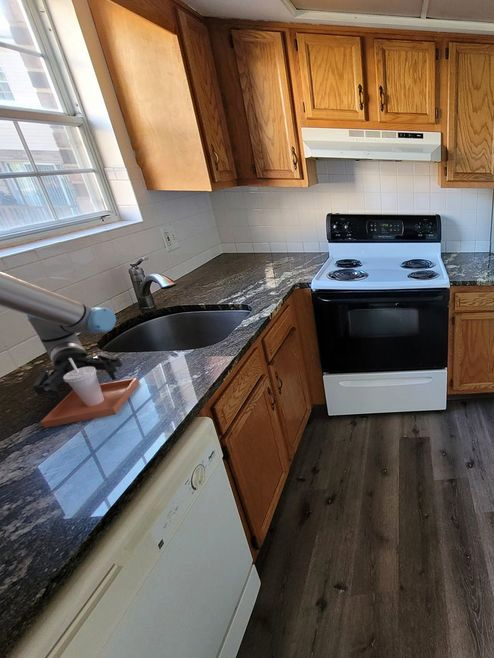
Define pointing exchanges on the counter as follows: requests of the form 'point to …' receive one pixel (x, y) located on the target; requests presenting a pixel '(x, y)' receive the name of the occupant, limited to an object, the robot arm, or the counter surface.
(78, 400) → the tray
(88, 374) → the smoothie
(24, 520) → the counter surface
